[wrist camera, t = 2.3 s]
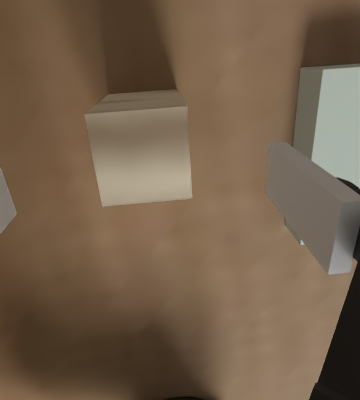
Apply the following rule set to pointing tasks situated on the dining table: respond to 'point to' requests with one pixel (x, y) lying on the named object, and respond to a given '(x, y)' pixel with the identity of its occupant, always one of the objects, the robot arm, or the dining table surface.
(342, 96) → the sage base plate
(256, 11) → the dining table surface
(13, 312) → the dining table surface
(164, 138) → the maple block
